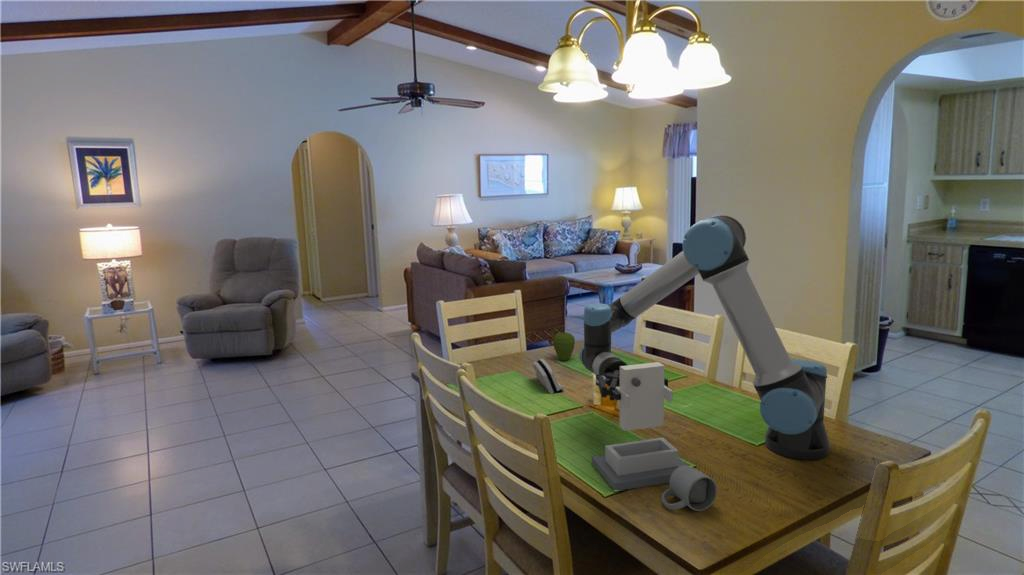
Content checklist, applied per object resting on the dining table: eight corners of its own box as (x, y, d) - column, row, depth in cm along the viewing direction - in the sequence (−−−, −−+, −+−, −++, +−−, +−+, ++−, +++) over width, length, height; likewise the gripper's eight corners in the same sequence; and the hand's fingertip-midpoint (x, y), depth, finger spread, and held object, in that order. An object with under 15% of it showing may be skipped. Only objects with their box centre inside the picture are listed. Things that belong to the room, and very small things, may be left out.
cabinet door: (657, 421, 147) (658, 362, 144) (665, 427, 143) (666, 367, 140) (619, 426, 144) (619, 366, 142) (626, 433, 140) (627, 371, 138)
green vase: (579, 360, 235) (579, 331, 233) (562, 364, 230) (561, 335, 228) (566, 355, 242) (565, 327, 240) (549, 359, 238) (548, 331, 236)
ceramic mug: (693, 489, 137) (693, 458, 136) (717, 507, 129) (718, 474, 128) (653, 500, 133) (653, 468, 132) (675, 518, 126) (676, 485, 124)
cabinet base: (664, 453, 155) (665, 431, 154) (693, 478, 142) (694, 454, 141) (591, 464, 150) (591, 441, 149) (614, 491, 137) (614, 467, 136)
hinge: (565, 392, 201) (554, 366, 198) (552, 398, 200) (542, 372, 198) (551, 376, 217) (541, 352, 215) (539, 382, 216) (529, 358, 214)
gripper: (650, 379, 163) (693, 408, 142) (571, 388, 158) (604, 420, 136) (650, 352, 162) (694, 378, 140) (571, 361, 156) (604, 389, 135)
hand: (650, 399), depth 138 cm, fingers closed on cabinet door, 10 cm apart
